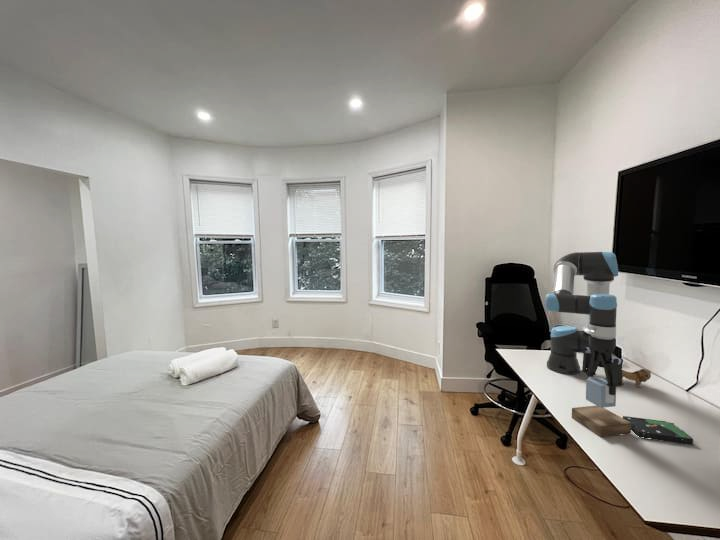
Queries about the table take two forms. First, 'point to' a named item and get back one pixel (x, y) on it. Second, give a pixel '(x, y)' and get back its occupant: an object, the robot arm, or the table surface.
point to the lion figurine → (637, 376)
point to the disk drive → (658, 430)
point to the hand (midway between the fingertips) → (600, 397)
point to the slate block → (597, 392)
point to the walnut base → (601, 421)
